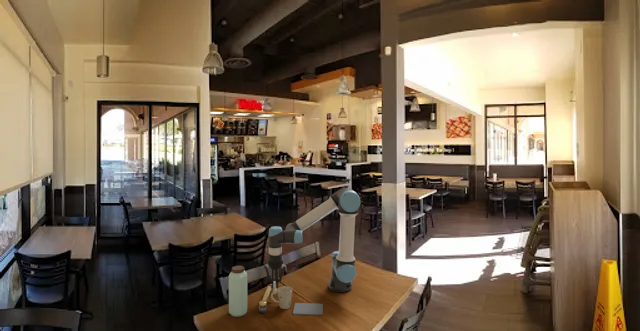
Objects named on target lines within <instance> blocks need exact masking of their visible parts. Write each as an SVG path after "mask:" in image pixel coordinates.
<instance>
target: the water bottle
mask: <svg viewBox="0 0 640 331" xmlns="http://www.w3.org/2000/svg"><path fill="white" fill-rule="evenodd" d="M247 312H248V272H247V271H246V270H245V266H243V265H235V266H232V267H231V272H230V273H229V275H228V313H229V314H231V315H230V316H232V317H235V318H236V317H242V316H245V315H246V314H247Z"/></svg>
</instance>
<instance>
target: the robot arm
mask: <svg viewBox="0 0 640 331" xmlns="http://www.w3.org/2000/svg"><path fill="white" fill-rule="evenodd" d="M360 205H361V197H360V196H359V194H358V193H357V192H356V191H354V190H353V189H352V188H349V187H342V188H340V189H339V190H337V191H336V192H334V193H333V194H331V195H330V196H329V198H328V199H327V200H325V201H324V202H322V203H321V204H320V205H318V206H317V207H315V208H313V209H312V210H310V211H309V212H308V213H306V214H304V215H303V216H301V217H299V218H298V219H296V221H294V222H291V223H288V224H287V225H286V227H285V229H284V230H283V228H282V227H281V226H278V225H277V226H271V227H270V228H268V261H267V263H266V264H264V265H263V268H264V270H265V273H266V276H267V280H268V281H267V282H269V283H270V284H272V289H273V290H272V292H273V291H277V290H278V288H279V283H282V279H283V276H284V272H285V270H286V268H287V265H286V264H284V263H283V261H282V259H283V257H282V253H283V252H282V251H283V249H282V246H283V245H285V244H288V245H289V244H291V245H292V244H295V245H297V244H302V243H303V232H304V231H305V230H306V229H308V228H310V227H312V225H314V224H315V223H317V222H318V221H320V220H322V219H324V218H325V217H327V216H328V215H329V214H331V213H332V212H334V211H335V210H337V213H339V215H340V221H339V222H340V224H339V237H338V238H339V239H338V240H339V242H338V250H337V251H333V252H332V253H331V274H330V278H329V280H328V288H329V290H331V291H333V292H335V291H336V293H347V292H350V291H352V289H353V283H352V282H353V281H354V280H355V279H356V277H357V269H356V257H355V256H354V247H355V246H354V245H355V244H354V243H355V226H356V216H358V215H359V208H360ZM282 244H283V245H282ZM280 268H281V272H280V270H279V269H280ZM270 270H271V271H270ZM279 272H280V276H279ZM349 290H350V291H349ZM346 291H347V292H346ZM276 294H277V293H274V295H276Z"/></svg>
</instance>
